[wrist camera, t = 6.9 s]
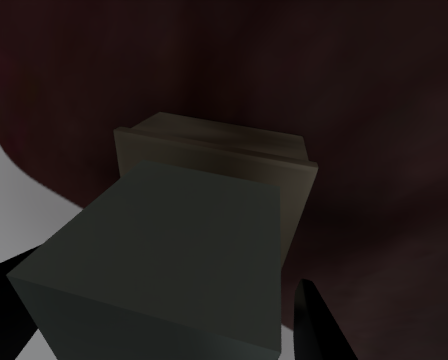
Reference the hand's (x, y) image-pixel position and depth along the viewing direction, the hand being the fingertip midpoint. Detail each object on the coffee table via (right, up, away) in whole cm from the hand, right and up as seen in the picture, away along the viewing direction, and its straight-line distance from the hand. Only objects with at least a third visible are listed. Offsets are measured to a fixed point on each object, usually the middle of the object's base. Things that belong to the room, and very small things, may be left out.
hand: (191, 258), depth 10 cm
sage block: (0, +1, +2) cm, 2 cm away
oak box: (+1, +3, +5) cm, 6 cm away
